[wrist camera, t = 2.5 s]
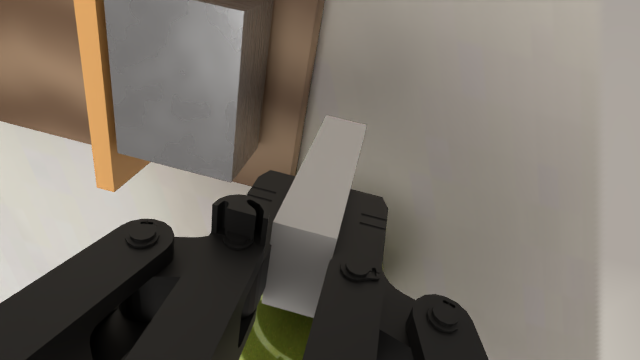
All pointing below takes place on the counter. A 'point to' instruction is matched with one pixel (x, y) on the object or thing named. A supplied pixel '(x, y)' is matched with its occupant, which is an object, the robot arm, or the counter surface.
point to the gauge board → (69, 93)
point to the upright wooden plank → (101, 98)
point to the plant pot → (277, 334)
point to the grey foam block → (189, 80)
